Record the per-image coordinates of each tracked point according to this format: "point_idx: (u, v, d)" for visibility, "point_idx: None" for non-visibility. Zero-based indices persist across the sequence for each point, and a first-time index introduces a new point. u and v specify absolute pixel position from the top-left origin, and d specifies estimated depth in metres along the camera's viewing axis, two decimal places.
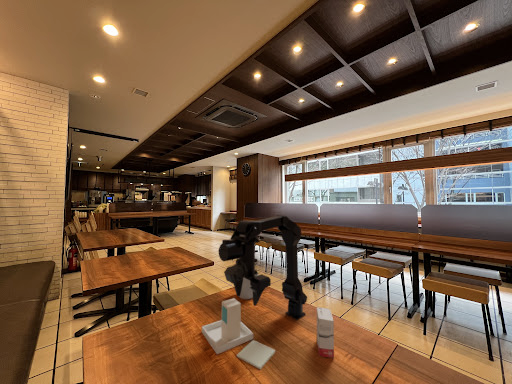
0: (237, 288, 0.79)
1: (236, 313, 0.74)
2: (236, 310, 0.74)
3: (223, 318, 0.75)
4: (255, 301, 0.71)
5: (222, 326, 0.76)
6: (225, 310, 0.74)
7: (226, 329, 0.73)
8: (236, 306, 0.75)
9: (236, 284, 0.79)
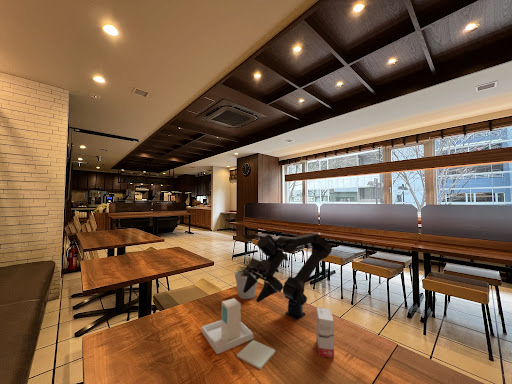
0: (247, 285, 0.86)
1: (236, 313, 0.74)
2: (236, 310, 0.74)
3: (223, 318, 0.75)
4: (260, 297, 0.77)
5: (222, 326, 0.76)
6: (225, 310, 0.74)
7: (226, 329, 0.73)
8: (236, 306, 0.75)
9: (249, 281, 0.86)
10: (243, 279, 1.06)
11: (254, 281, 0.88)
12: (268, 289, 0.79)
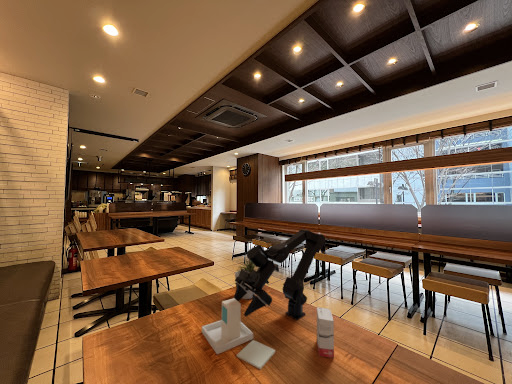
0: (236, 297, 0.83)
1: (236, 313, 0.74)
2: (236, 310, 0.74)
3: (223, 318, 0.75)
4: (248, 311, 0.74)
5: (222, 326, 0.76)
6: (225, 310, 0.74)
7: (226, 329, 0.73)
8: (236, 306, 0.75)
9: (238, 293, 0.83)
10: None
11: (243, 293, 0.85)
12: (257, 302, 0.76)
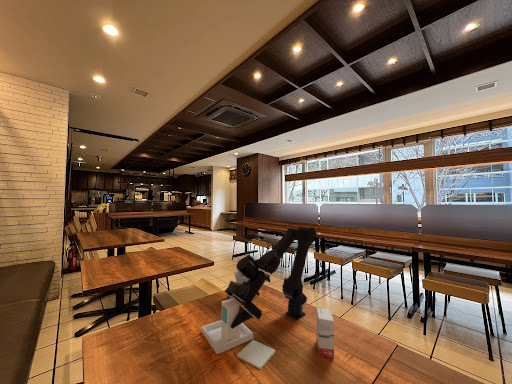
0: None
1: (236, 313, 0.74)
2: (236, 310, 0.74)
3: (223, 318, 0.75)
4: (234, 323, 0.73)
5: (222, 326, 0.76)
6: (225, 310, 0.74)
7: (226, 329, 0.73)
8: (236, 306, 0.74)
9: None
10: (243, 279, 1.06)
11: None
12: (244, 314, 0.74)
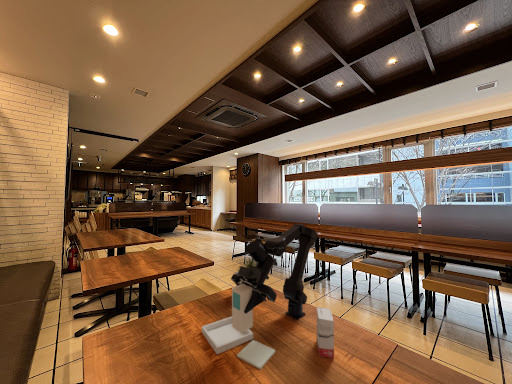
0: None
1: (249, 298, 0.71)
2: (248, 295, 0.71)
3: (235, 305, 0.71)
4: (248, 308, 0.70)
5: (233, 314, 0.72)
6: (237, 296, 0.70)
7: (240, 316, 0.69)
8: (248, 291, 0.71)
9: None
10: None
11: None
12: (256, 298, 0.72)
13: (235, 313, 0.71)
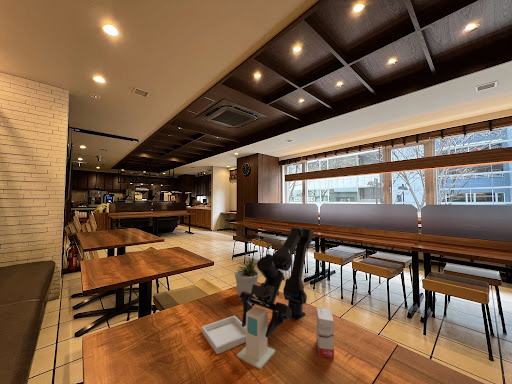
0: None
1: (264, 322, 0.68)
2: (264, 318, 0.68)
3: (250, 330, 0.67)
4: (269, 331, 0.66)
5: (247, 340, 0.68)
6: (254, 321, 0.67)
7: (256, 342, 0.66)
8: (264, 314, 0.68)
9: (247, 311, 0.73)
10: (243, 279, 1.06)
11: None
12: (276, 319, 0.68)
13: (250, 339, 0.67)
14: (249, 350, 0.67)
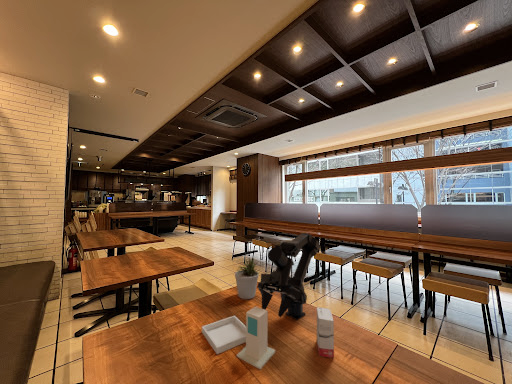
0: (264, 302, 0.82)
1: (264, 322, 0.68)
2: (264, 318, 0.68)
3: (250, 330, 0.67)
4: (281, 311, 0.73)
5: (247, 340, 0.68)
6: (254, 321, 0.67)
7: (257, 342, 0.66)
8: (264, 314, 0.68)
9: (264, 298, 0.82)
10: (243, 279, 1.06)
11: (270, 296, 0.84)
12: (287, 300, 0.75)
13: (250, 339, 0.67)
14: (249, 350, 0.67)
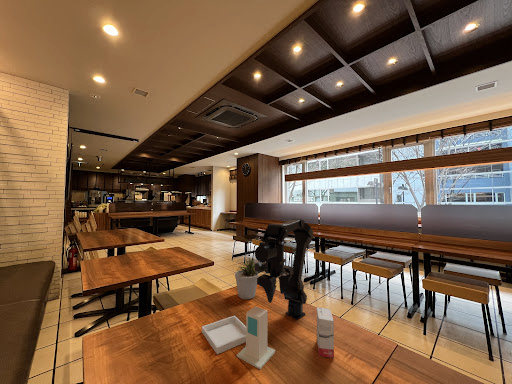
0: (280, 285, 0.86)
1: (264, 322, 0.68)
2: (264, 318, 0.68)
3: (250, 330, 0.67)
4: (268, 298, 0.77)
5: (247, 340, 0.68)
6: (254, 321, 0.67)
7: (257, 342, 0.66)
8: (264, 314, 0.68)
9: (280, 281, 0.86)
10: (243, 279, 1.06)
11: (285, 279, 0.85)
12: None
13: (250, 339, 0.67)
14: (249, 350, 0.67)
